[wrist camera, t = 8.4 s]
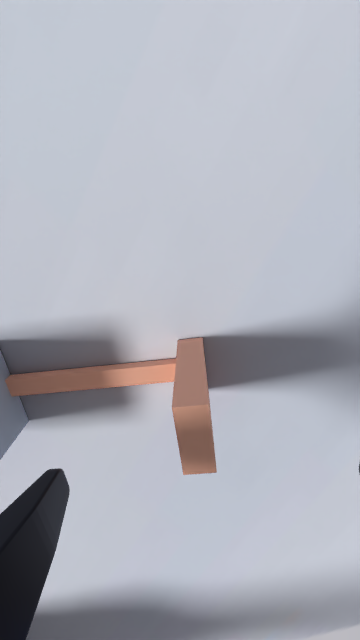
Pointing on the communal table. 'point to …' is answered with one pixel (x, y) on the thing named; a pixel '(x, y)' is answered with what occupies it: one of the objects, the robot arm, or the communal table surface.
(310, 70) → the communal table surface
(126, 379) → the wooden bar with block
